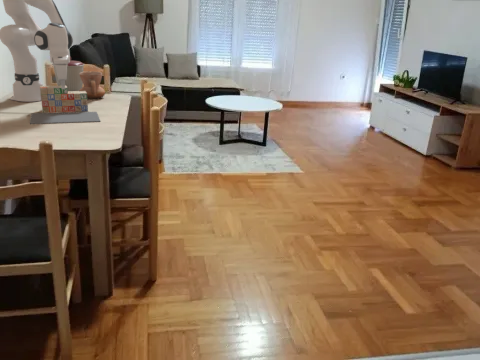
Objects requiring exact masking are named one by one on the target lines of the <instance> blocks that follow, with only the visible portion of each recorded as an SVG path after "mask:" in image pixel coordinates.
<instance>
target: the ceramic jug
mask: <svg viewBox="0 0 480 360" xmlns="http://www.w3.org/2000/svg"><path fill="white" fill-rule="evenodd" d="M79 74H80V78H81V80H82V82H83V86H82V88H81V89H80V90H79V91H86V93H87V100H88V99H89V100H96V99H100V98H103V97H104V96H105V94H106V90H105V89H104V88H103V87H101V86H100V84H101V82H102V77H103V73H102V72H101V71H90V70H89V71H83V72H81V73H79Z"/></svg>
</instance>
